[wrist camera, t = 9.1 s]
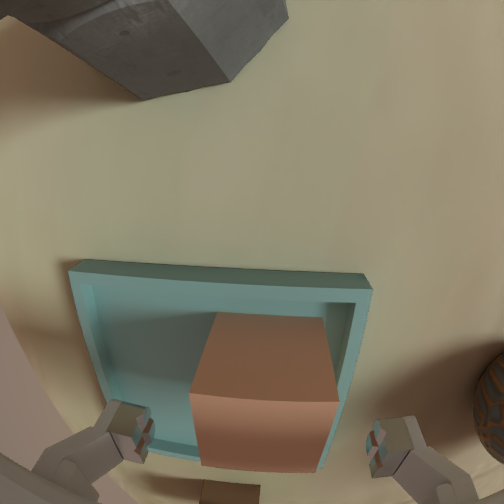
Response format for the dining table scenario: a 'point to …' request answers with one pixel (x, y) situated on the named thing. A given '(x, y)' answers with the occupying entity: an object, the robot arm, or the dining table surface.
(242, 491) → the walnut block
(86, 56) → the coffeepot
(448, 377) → the dining table surface
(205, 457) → the terracotta block
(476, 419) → the vase
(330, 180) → the dining table surface
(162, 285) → the tray
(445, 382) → the dining table surface
